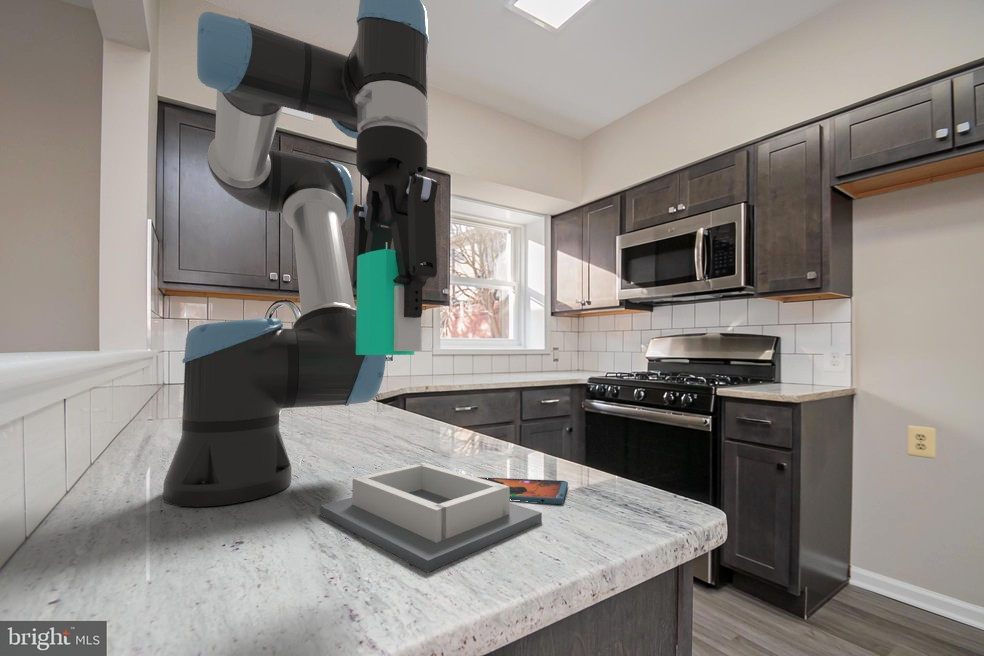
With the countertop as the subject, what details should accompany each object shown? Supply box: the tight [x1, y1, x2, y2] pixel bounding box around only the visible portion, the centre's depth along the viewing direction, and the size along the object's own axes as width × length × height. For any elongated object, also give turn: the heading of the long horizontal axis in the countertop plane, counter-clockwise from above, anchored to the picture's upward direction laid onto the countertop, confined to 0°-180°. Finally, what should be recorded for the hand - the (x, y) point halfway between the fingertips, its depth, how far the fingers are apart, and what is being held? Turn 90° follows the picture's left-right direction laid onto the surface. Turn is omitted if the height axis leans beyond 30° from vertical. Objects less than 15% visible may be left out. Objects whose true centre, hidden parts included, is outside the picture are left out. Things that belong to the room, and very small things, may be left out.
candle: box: [355, 242, 415, 356], centre depth 48 cm, size 6×6×12 cm
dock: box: [319, 462, 543, 573], centre depth 52 cm, size 20×16×4 cm
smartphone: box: [477, 476, 569, 505], centre depth 62 cm, size 8×1×15 cm
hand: (390, 350), depth 48 cm, fingers closed on candle, 6 cm apart
